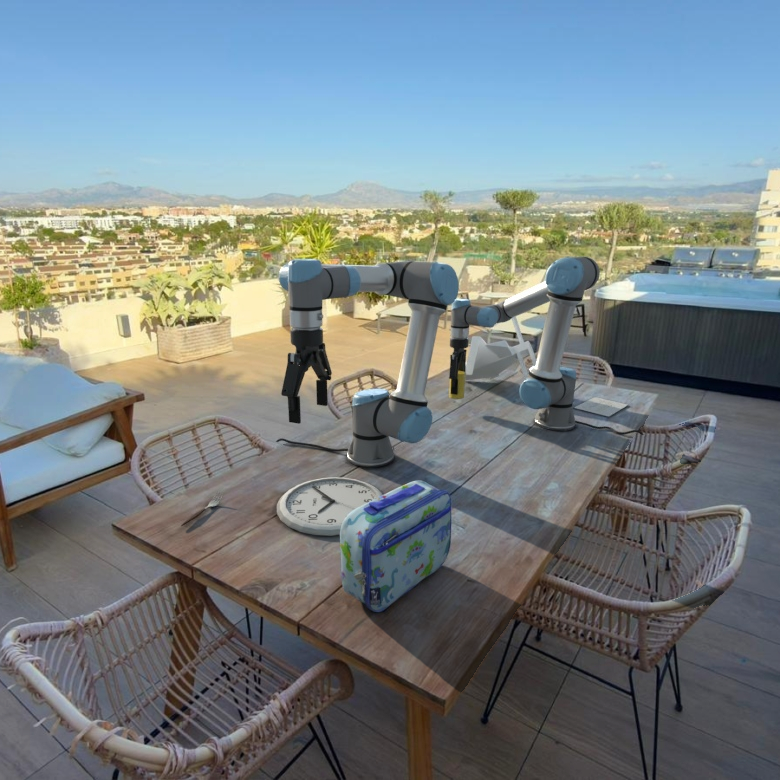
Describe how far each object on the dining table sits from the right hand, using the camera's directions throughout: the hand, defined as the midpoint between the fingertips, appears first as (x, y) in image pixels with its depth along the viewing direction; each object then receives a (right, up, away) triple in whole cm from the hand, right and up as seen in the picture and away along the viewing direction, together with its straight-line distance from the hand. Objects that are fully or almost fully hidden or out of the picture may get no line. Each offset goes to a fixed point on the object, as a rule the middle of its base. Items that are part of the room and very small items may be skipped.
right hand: (456, 391), depth 219 cm
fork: (-78, -32, -82) cm, 117 cm away
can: (0, -2, +1) cm, 2 cm away
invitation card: (+63, -7, +7) cm, 64 cm away
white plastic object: (+23, +2, +31) cm, 39 cm away
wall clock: (-44, -31, -77) cm, 94 cm away
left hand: (-48, -5, -91) cm, 103 cm away
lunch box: (-26, -41, -107) cm, 118 cm away
